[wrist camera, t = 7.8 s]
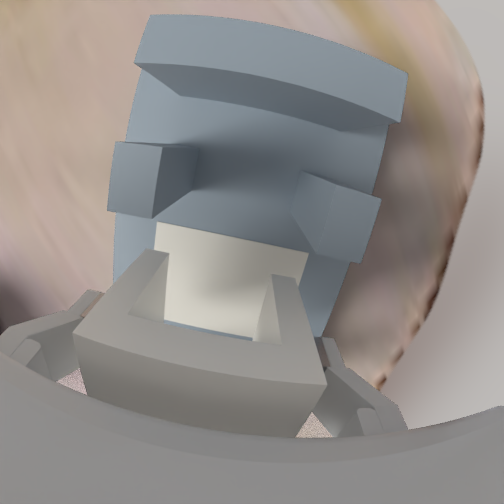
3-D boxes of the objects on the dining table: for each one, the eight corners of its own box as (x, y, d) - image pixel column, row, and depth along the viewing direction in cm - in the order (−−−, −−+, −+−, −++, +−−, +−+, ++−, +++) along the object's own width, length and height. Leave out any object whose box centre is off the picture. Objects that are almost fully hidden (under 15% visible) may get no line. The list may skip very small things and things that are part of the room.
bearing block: (268, 425, 19) (271, 495, 13) (130, 398, 18) (106, 464, 12) (380, 101, 11) (465, 79, 5) (160, 52, 10) (98, -5, 4)
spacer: (146, 248, 10) (71, 333, 5) (295, 277, 10) (327, 385, 5) (143, 326, 11) (96, 422, 6) (270, 351, 11) (279, 458, 6)
